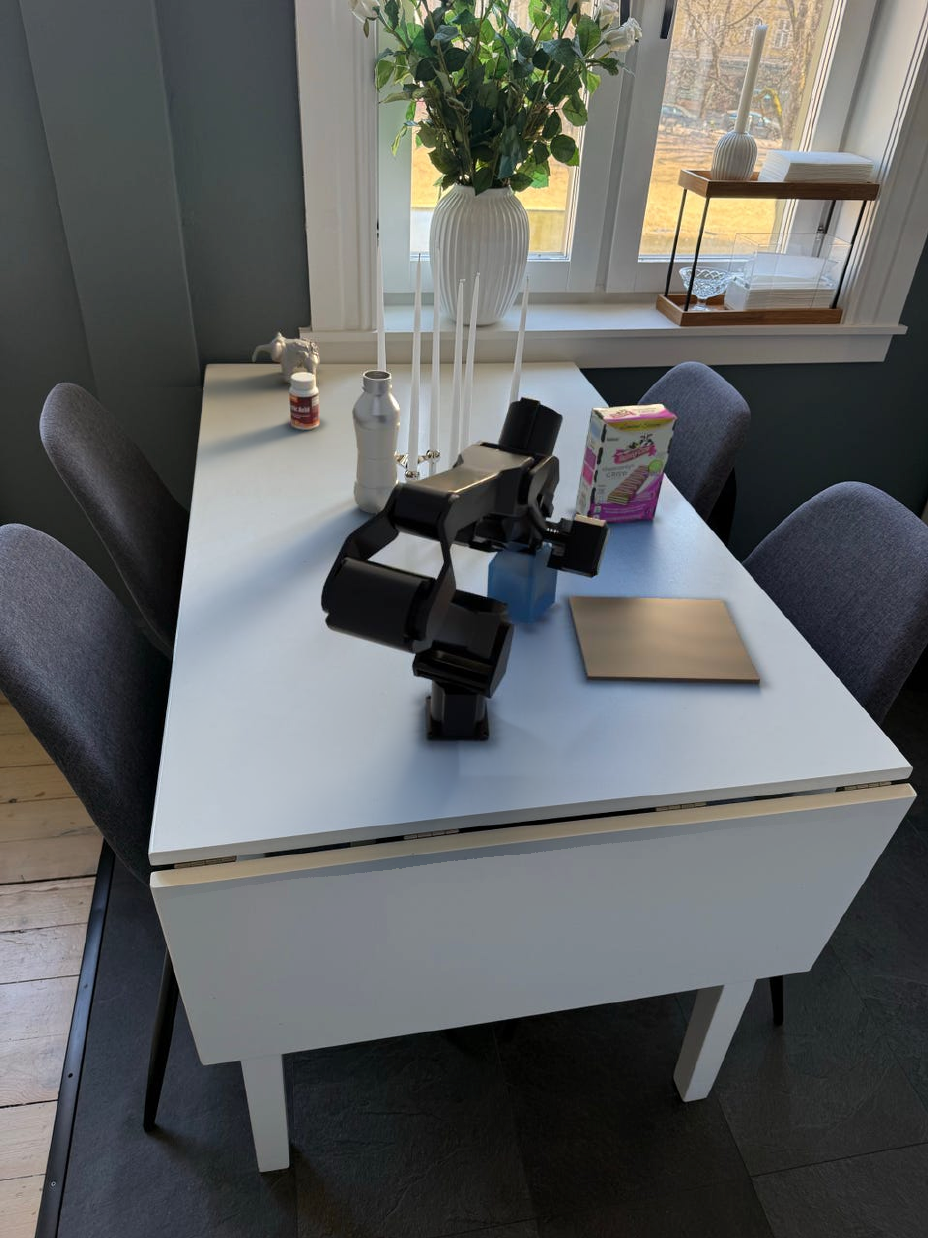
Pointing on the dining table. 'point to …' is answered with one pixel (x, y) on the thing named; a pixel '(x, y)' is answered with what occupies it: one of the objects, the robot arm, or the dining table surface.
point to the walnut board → (659, 640)
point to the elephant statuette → (291, 354)
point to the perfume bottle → (523, 583)
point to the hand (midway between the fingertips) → (533, 551)
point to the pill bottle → (304, 401)
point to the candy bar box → (624, 462)
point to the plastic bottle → (375, 441)
